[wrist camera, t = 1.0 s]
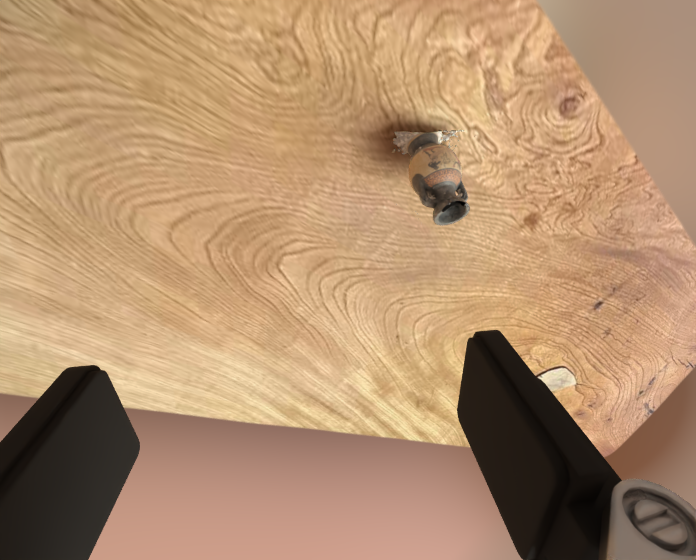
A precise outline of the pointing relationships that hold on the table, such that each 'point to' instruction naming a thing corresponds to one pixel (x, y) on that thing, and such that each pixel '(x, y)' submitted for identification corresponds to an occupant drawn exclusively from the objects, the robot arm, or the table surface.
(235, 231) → the table surface
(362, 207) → the table surface
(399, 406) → the table surface
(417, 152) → the vase
